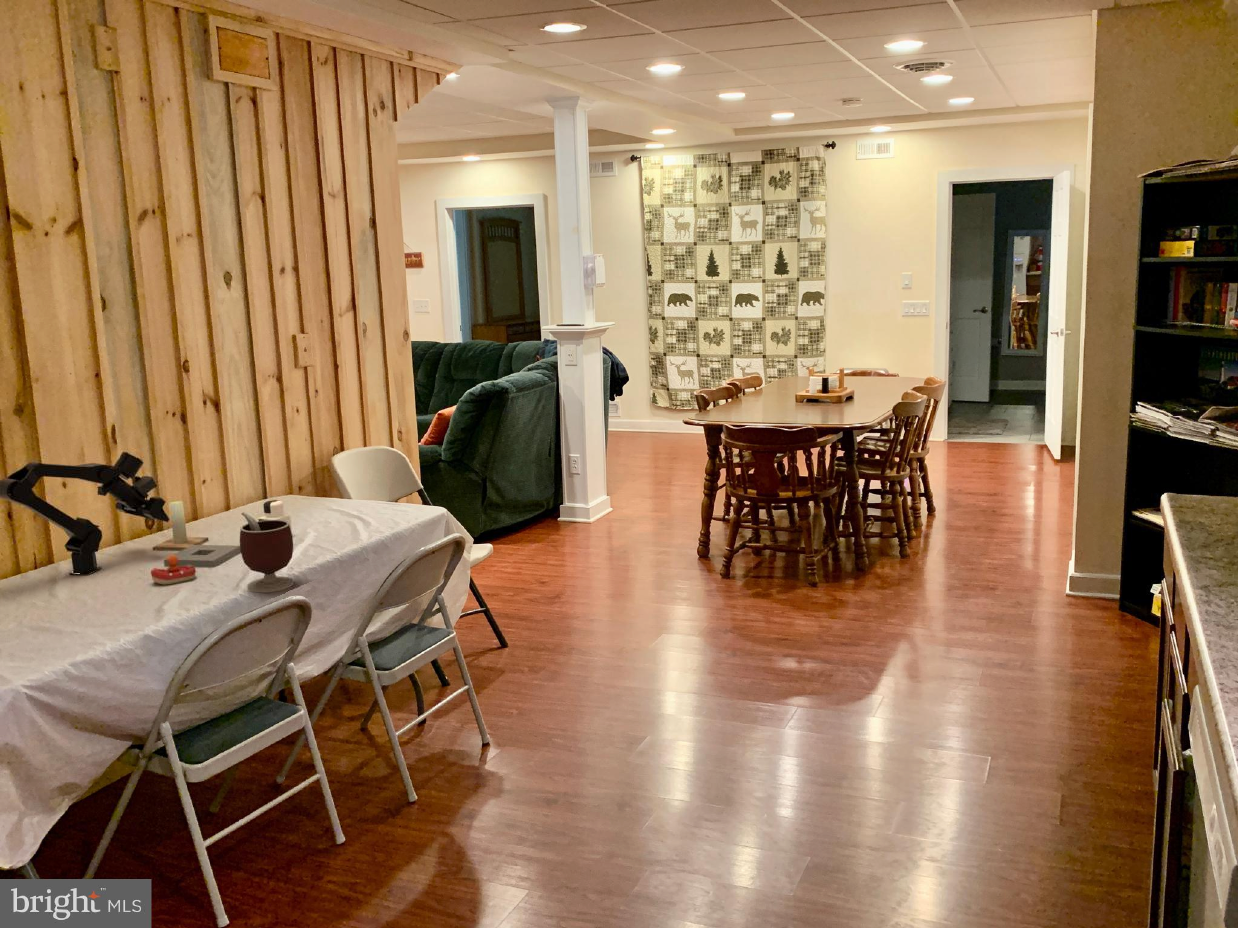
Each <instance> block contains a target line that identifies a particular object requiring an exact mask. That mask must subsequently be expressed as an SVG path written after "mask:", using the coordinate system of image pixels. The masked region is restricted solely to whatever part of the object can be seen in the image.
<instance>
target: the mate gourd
mask: <svg viewBox="0 0 1238 928" xmlns="http://www.w3.org/2000/svg"><path fill="white" fill-rule="evenodd" d="M241 515H242V516H243V517H244V519H246V521H247V523H245V524H243V525H242V526H241V527H240V532H239V546H240V550H241V552H240V553H241V554H240V555H241V558H242V560H243V561H242V562H243V563H244V564H245V565H246V567H247V568H249V569H250V571H253V572H256V573H261V574H263V575H264V576H263V578H259V579H255V580H252V581H250V582H249V583H248V584H247V585H246V586H247V590H248V591H249V592H253V593H272V592H279V591H282V590H286V589H289V588H290V587H292V586H293V585H294V582H295V581H294V579H293V578H292V577H289V576H283V575H282V576H279V575H278V576H277V575H276V572H278V571H280V570H282V569H284V568H286V567H287V566H288V565H289V563H290V561H291V560H292V558H293V554H294V553H293V552H294V538H293V532H292V533H291V529H292V528H291V529H290V526H289V522H287V521H284V520H264V521H259V520H258V521H257V520H256V519H255V518H254V517H252V516H251V515H249V514H247V513H246V512H242V513H241Z"/></svg>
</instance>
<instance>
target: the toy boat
mask: <svg viewBox="0 0 1238 928" xmlns="http://www.w3.org/2000/svg"><path fill="white" fill-rule="evenodd" d="M167 558H168V564H169V565H170V566H168V568H163V569H162V568H158V567H157V568H155V567H154V568H151V571H150V576H151V579H152V581H154V582H155V583H157V584H159V585H164V586H166V584H169V585H172V584H173V583H174V584H180V583H183V581H184V582H187V581H191V580H193V579H194V578H195V577H196V573H197V570H196V567H193V566H192V565H183V566H177V565H176V564H177V563H178V558H177V556H175V555H174V554H172V555H169V556H168V557H167ZM174 584H173V585H174Z"/></svg>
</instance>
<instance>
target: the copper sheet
mask: <svg viewBox="0 0 1238 928" xmlns="http://www.w3.org/2000/svg"><path fill="white" fill-rule="evenodd" d="M208 541H209V537H208V536H207V537H200V536H198V537H197V536H196V537H195V536H193V537H191V536H190V537H189V536H187V542H186V543H183V544H174V540H173V537H171V538H169V539H167V540H164V541H163V542H161V543H158V544H157V545H154V546H152V551H164V550H166V551H168V550H169V551H171V552H172V551H176V552H180V551H182V550H184V549H186V548H188V547H190V546H192V545H204V543H206V542H208ZM166 551H165V552H166Z"/></svg>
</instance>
